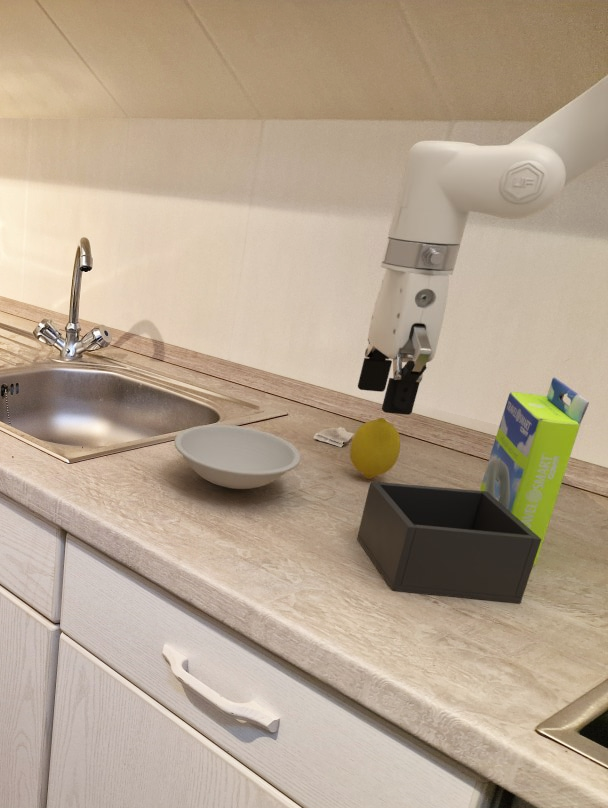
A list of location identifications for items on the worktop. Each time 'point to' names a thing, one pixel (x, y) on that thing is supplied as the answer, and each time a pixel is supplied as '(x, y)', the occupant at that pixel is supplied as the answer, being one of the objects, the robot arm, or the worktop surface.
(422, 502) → the basket
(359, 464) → the lemon
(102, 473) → the worktop surface
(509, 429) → the box
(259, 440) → the dish
